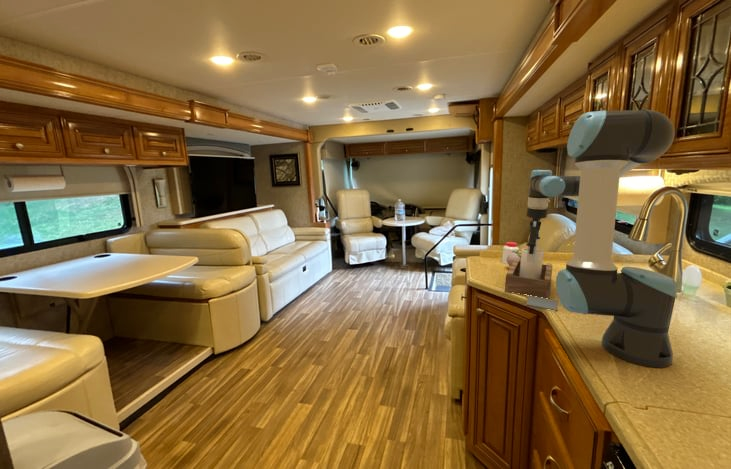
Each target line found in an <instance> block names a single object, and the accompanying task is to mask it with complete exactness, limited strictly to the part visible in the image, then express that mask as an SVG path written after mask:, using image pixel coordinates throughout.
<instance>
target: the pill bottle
mask: <svg viewBox="0 0 731 469" xmlns="http://www.w3.org/2000/svg"><path fill="white" fill-rule="evenodd" d="M517 250H518V253H520V248H519V246H518V243H517V242H514V241H507V242H505V245H503V246H502V256H501V257H502V258H501V263H502V264H505V265H508V266H510V265H509V264H508V263H507V256H508V255H509V254H510V253H512V251H517Z"/></svg>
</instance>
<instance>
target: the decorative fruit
mask: <svg viewBox="0 0 731 469" xmlns="http://www.w3.org/2000/svg"><path fill="white" fill-rule="evenodd" d="M521 255H522V252H519V253H518V250H517V251H512V253H510V254H509V255H508V256H507V263H508V264H509V265H508V264H507V265H508V266H510V267H511V265H512V263H513V261H514V259H519V261H521Z"/></svg>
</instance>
